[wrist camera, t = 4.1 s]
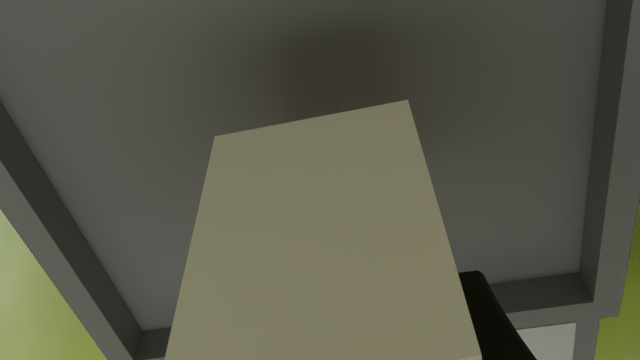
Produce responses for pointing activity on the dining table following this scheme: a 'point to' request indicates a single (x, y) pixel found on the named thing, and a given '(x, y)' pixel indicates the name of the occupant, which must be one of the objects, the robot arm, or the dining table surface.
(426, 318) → the block
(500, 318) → the robot arm
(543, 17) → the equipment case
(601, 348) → the dining table surface
